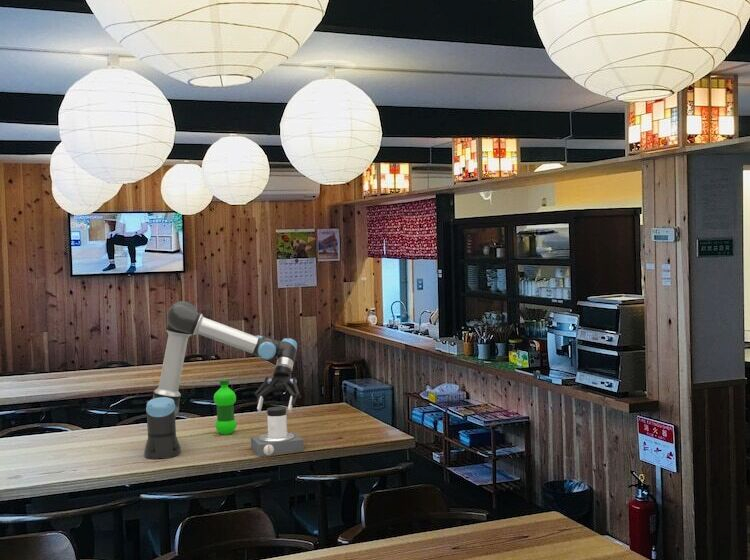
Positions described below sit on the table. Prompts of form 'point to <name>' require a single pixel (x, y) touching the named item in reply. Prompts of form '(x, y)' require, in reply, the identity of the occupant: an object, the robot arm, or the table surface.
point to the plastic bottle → (225, 408)
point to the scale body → (276, 446)
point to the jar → (277, 422)
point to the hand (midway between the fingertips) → (273, 410)
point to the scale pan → (265, 438)
